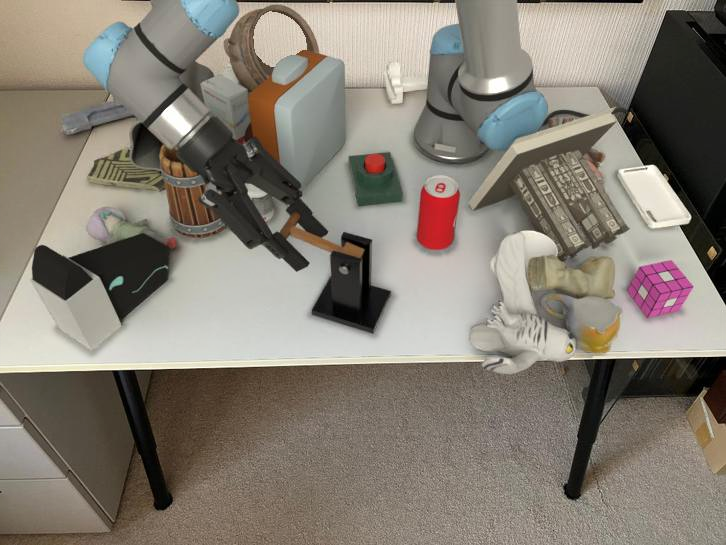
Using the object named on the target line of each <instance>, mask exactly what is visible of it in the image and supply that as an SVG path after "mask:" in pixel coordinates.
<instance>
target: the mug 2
mask: <svg viewBox="0 0 726 545" xmlns="http://www.w3.org/2000/svg"><path fill="white" fill-rule="evenodd" d="M547 300H555V301H558V302H560V303H562V304H564V305H565V306H564V307H562V313H559V312H556V311H555V310H553V309H552V308H551V307H550V306H549V305H548V302H547ZM539 304H540V306H541V307H542V310H544V312H546V313H547V314H548V315H550V316H551V317H553V318H555V319H558V320H565V325H566V326H565V327H566V330H567V331H568V332H569V333H571V334H572V336H573V337H574V338H575V340H576V349H579V350H580V351H582V352H586V353H590V354H598V355H599V354H605V353H608V352H610V351H611V347H612V344H613V342H614V341H615V339H617V338H618V335H619V332H620V328H621V316H620V315H621V314H623V308H622V307H621V306H619V305H618V306H617V305H615V304H614V303H612V302H611V301H609V300H607V299H606V298H605V299H603V298H600V297H594V296H588V297H583V298H580V299H576V298H573V297H571V296H568V295H564V294H560V293H557V292H556V291H555V292H554V291H553V292H552V291H551V292H546V293H543V294H542V295H541V296H540V298H539Z"/></svg>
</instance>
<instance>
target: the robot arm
mask: <svg viewBox="0 0 726 545" xmlns="http://www.w3.org/2000/svg"><path fill="white" fill-rule="evenodd" d="M149 1H150V4H151V9H150V11H149V12H148V13H147V14H146V15H145V16H144V17H143V19H142V20H141V21H139V22H138V23H137V24H136V25H135V26H134V27H131V26H129V25H128V24H127V23H125V22H123V21H116V22H113V23H112V24H110V25H109V26H108V27H106V28H105V29H104V30H103V31H102V32H101V33H100V34H99V35H98V36H96V38H94V39H93V40H92V42H91V43H90V44H89V45H88V46H87V48H86V49H85V51H84V53H83V56H82V63H83V66H84V68H85V69H86V70H87V71H88V72H89V73H90V74H91V75H92V76H93V77H94V78H95V79H96V80H97V81H98V83H99V84H100V85H101V86H102V87H103V88H104V90H105V91H106V92H107V93H109V94H110V96H112V97H113V96H114V97H115V98H116V99H117V100H118V101H119V102H120V103H121V104H122V105H123V106H124V107H125V108H126V109H128V110H129V111H130V112H131V113H132V114H133V116H134V117H135V118H136V119H138V120H139V121H141V122H142V123H143V125H144V126H145V127H147V128H148V130H150V131H151V132H152V133H153V134H154V135H155V136H156V137H157V138H158V139H159V140H160V141H161V142H162V143H163V144H164V145H165V146H166V147H167V148H168V149H174V148H175V149H176V150H177V152H176V154H177V156H176V157H177V158H179V159H180V160H181V161H182V162H183V163H184V164H185V165H186V166H187V167H188V168H189V169H190V170H191V171H192V172H195V173H197V174H199V175H200V176H201V177H202V179H203V181H204V183H205V184H206V188H205V190H204V193H203V194H202V195H201V196H200V197H199V198H198V201H199V203H200V204H202V205H204V206H205V207H207V208H209V209H210V210H212V211H213V212H214V213H215V214H216V215H217V216H218V217H219V218H220V219H221V220H222V221H223V223H224V224H225V225H226V228H228V229H229V230H230V232H232V233H233V234H234V236H236V238H238V240H240V242H241V243H242V244H243V245H244V246H245V247H246V248H247V249H248V250H253V249H255V248H257V247H258V246H263V247H264V248H266V250H268V251H269V252H270V253H271V254H272V255H273V256H274V257H275V258H276V259H278V260H281V259H282V260H283V261H284V262H285V263H286V264H287V265H289V266H290V267H291V268H292V269H293V270H294V271H295V272H296V273H297V272H299V271H301V270H303V269H306V268H308V267H309V265H310V264H311V262H310V261H309V260H308V259H307V258H306V257H305V256H304V255H303V254H302V253H301V252H300V251H299V250H298V249H297V248H296V247H294V245H292V243H291V242H289V241H288V239H287V240H286V239H285V238H284V237H283V236H282V235H281V234H280V233H279V232H280V231H279V230H277V231H275V232H273V231H272V230H271V229H270V226H269V225H268V223H267V221H266V222H265V220H264V219H263V217H262V216H261V214H260V213H259V211H258V209H257V208H256V206H255V205H254V203H253V201H252V200H251V198H250V197H249V195H248V189H247V187H246V186H245V183H247V184H252V185H254V186H255V187H257V188H259V189H260V190H262V191H264V192H265V193H267V194H269V195H270V196H272V197H273V199H275V200H277V201H278V202H280V203H282V204H284V205H286V206H287V207H286V208H285V212H286V213H287V214H288V215H289V217H290V216H291V214H292V213H293V212H296V213H298V214H299V215H300V216H301V219H300V220H299V222H298V223H297V225H299V226H300V227H301V228H302V230H304V231H306V232H309V233H311V234H313V235H316V236H318V237H321V238H324V237H326V236H327V235H328V234H329V232H330V231H329V230H328V229H327V228H326V227H325V226H324V225H323V224H322V223H321V222H320V221H319V220H318V219H317V218H316V217H315V216H314V215H313V214H314V213H313V211H312V209H311V208H310V206H308V205H307V204H306V203H305V202H304V201H303V200H302V199H301V198H302V197H303V192H302V191H300V190H299V189H300V188H301V183H300V182H299V181H298V180H297V179H296V178H295V177H294V176H293V175H292V174H291V173H289V172H288V171H287V170H286V169H285V168H284V167H283V166H282V165H281V164H280V163H279V162H278V161H277V160H276V159H275V158H273V157H272V156H271V155H270V154H269V153H268V152H267V151H266V150H265V149H264V147H263V146H262V144H261V143H260V141H259V140H258V138H256V137H253V138H251V139H250V140H249V141H248V142H246V143H244V144H241V143H239V142H237V141H235V140H234V139H233V138H232V137H233V133H232V132H231V131H230V130H229V129H228V128H227V127H226V126H225V125H224V124H223V123H222V122H221V121H220V119H219V118H218V117H217V116H216V117H214V116H213V117H211V116H210V115H209V113H210V109H209V108H208V107H207V106H206V105H205V104H204V103H203V102H202V101H201V100H200V99H199V98H198V97H197V96H196V95H195V94H194V93H193V92H192V91H191V90H190V89H189V88H188V87H187V86H186V85H185V84H184V83H183V82H182V81H181V80H180V78H179V76H180V75H181V74H182V73H184V72H185V71H186V70H187V68H188V67H189V66H190V65H191V64H192V63H193V62H194V61H197V60H198V59H199V58H200V57H201V56H202V55H203V54H204V53H205V52H206V51H207V50H208V49H209V48H210V47H211V46H212V45H213V44H215V42H216V41H217V40H218V39H219V38H221V37H223V36H224V35H225V33H226V32H227V30H228V28H230V26H231V25H232V24H233V22H235V20H236V19H237V18H238V17H239V14H240V6H239V3H238V2H237V0H149ZM454 4H455V9H456V14H457V15H456V16H457V21H458V23H453V24H449V25H446V26H443V27H441V28H439V29H438V30H437V31H436V32H434V34H433V36H432V39H431V44H430V48H429V54H430V55H429V64H428V74H427V76H428V85H427V89H426V99H425V105H424V107H423V109H422V111H421V113H420V115H419V117H418V119H417V121H416V124H415V126H414V129H413V144H414V146H415V148H416V149H417V151H418V152H420V153H421V154H422V155H423V156H425V157H426V158H428V159H430V160H432V161H434V162H439V163H443V164H450V165H462V164H467V163H472V162H475V161H477V160H479V159H481V158H483V157H484V156H485V155H486V154H487V153H488V151H489V149H490V150H492V151H497V152H507V150H508V149H509V148H510V146H511V145H512V144H513V142H514V141H515V140H516V139H518V138H521V137H524V136H527V135H531V134H534V133H537V132H539V130H540V129H541V128H542V127H543V126H545V125H546V124H548V121H549V119H551V118H554V117H556V116H557V115H571V116H574V117H575V116H576V117H580V118H583V117H586V116H589V115H590V114H588V113H584V112H580V111H577V110H576V111H575V110H572V109H557V110H554V111H552V112H550V113H549V115H548V112H549V104H548V102H547V99H546V98H545V95H544V94H543V92H541V91H539V90H537V88H536V85H535V81H534V80H535V79H534V65H533V59H532V56H531V55H530V54H529V53H528V52H527V51H526V50H524V49H523V48H522V44H521V33H520V32H521V31H520V20H519V8H518V0H454ZM187 88H188V89H187ZM186 89H187V90H186ZM185 90H186V91H185ZM184 91H185V92H184ZM617 113H623V114H624V115H629V114H630V112H629V110H628V109H627V108H625V107H616V108H615V109H614V110H613V111H612V112H611V114H612V115H613V116H614V114H617ZM289 184H290V185H289ZM218 190H221V191H222V193H223V194H224V196H225V197H226V198H225V197H223V196H222V195H221V194H222V193H221V191H218Z"/></svg>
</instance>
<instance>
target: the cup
mask: <svg viewBox="0 0 726 545" xmlns="http://www.w3.org/2000/svg"><path fill="white" fill-rule="evenodd" d="M519 232H522V233H523V234H524V236H525V241H526V271H527V278H528V263H529V260H530V259H531V258H533V257H540V256H542V255H544V256H549V255H552V254H553V255H555V256H557V254H558V250H557V246H556V244H555V243H554V242H553V241H552V240H551V239H550V238H549V237H548V236H546V235H544V234H542V233H539V232H537V231H536V230H520V231H519ZM495 259H496V255H494V256H493V257H492V259H491V261H490V263H489V267H490V270H491V272H492V273H493V274H494V275H496V274H495ZM528 283H529V278H528ZM529 287H531V286H530V283H529Z"/></svg>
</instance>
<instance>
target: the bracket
mask: <svg viewBox="0 0 726 545" xmlns="http://www.w3.org/2000/svg"><path fill="white" fill-rule="evenodd" d="M346 242H348V243H351V244H353V245H356V246H358V247H360V248H363V249H365V251H364V254H363V258H362V259H361V258H358V257H354V256H351V255H347V254H344V253H340V252H337V251H332V253H330V254H329V259H330V260H329V261H330V276H329V279H328V280H327V282H326V284H325V285H324V287H323V289H322V291H321V293H320V294H319V296H318V298H317V300H316V302H315V304H314V305H313V307H312V309H311V316H314V317H318V318H319V319H320V318H321V319H323V320H327V321H330V322H333V323H335V324H336V323H337V324H340V325H343V326H347V327H350V328H353V329H356V330H358V331H363V332H365V333H368V334H369V333H370V334H374V333H375V332H376V330H377V327H378V325H379V322H380V321H381V319H382V316H383V314H384V312H385V310H386V307H387V306H388V303H389V301H390V299H391V297H392V290H389V289H385V288H382V287H378V286H375V285H372V273H373V272H372V271H373V269H372V268H373V239H371V238H368V237H366V236H365V237H364V236H361V235H358V234H353V233H350V232H346V231H343V232H342V234H340V244H341V245H340V246H342V247H344V246H345V244H346ZM374 335H375V334H374Z"/></svg>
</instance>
